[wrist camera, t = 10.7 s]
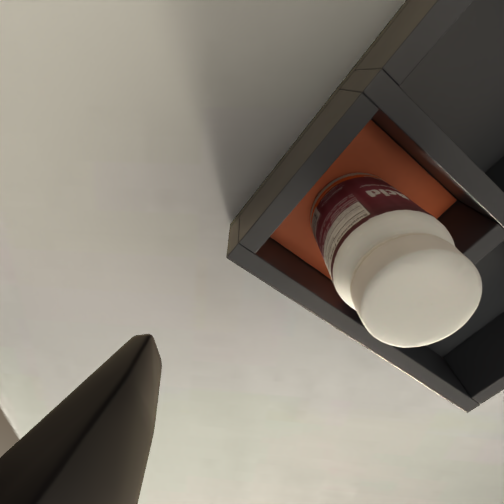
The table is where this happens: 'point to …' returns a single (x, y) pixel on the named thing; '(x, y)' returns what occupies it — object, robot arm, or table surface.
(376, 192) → the pill bottle
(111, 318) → the table surface
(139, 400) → the robot arm
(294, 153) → the organiser
